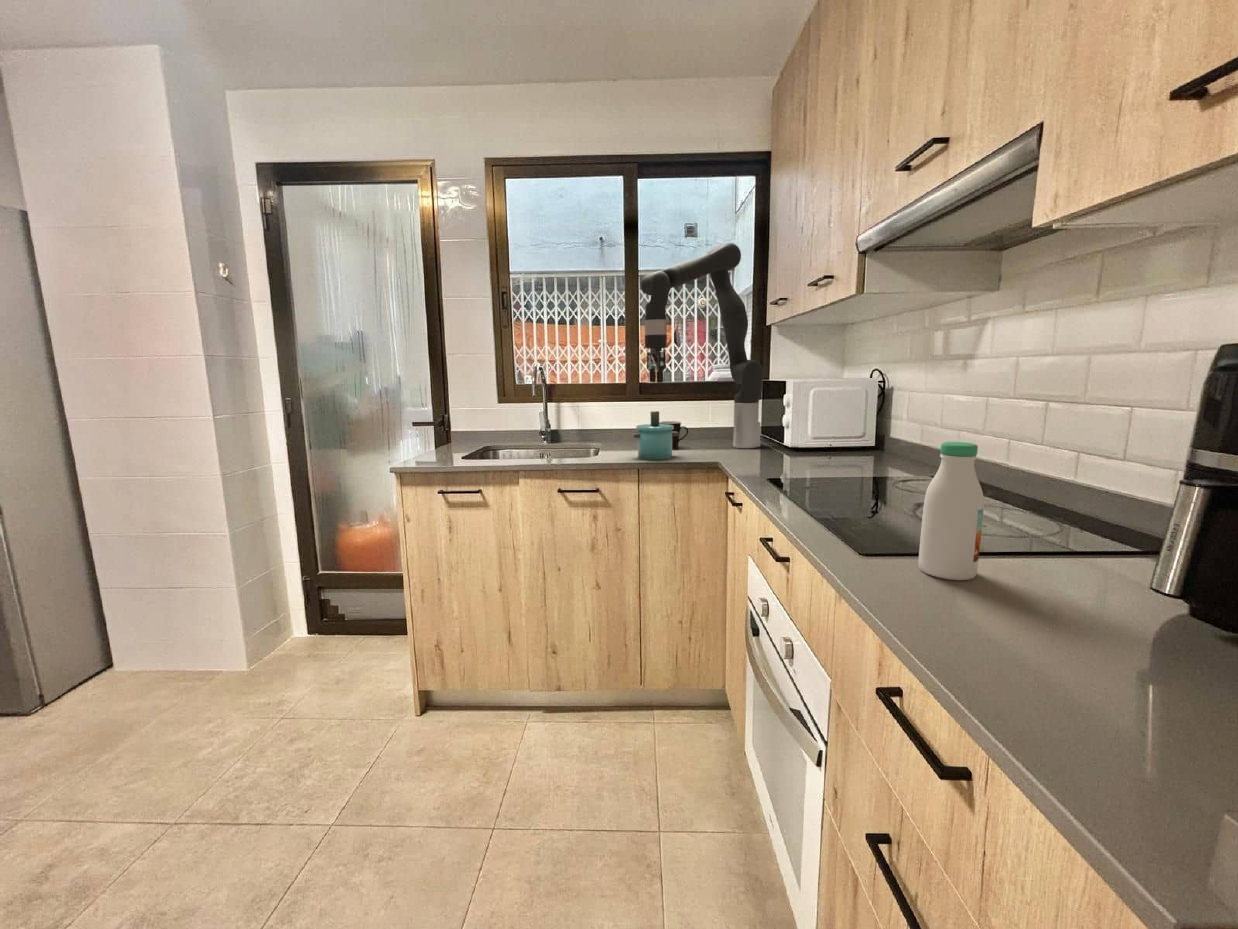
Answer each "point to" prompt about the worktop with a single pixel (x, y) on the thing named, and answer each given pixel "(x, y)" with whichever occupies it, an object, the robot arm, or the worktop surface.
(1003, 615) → the worktop surface
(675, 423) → the coffee mug
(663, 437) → the pot
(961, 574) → the milk bottle
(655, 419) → the lid
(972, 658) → the worktop surface
